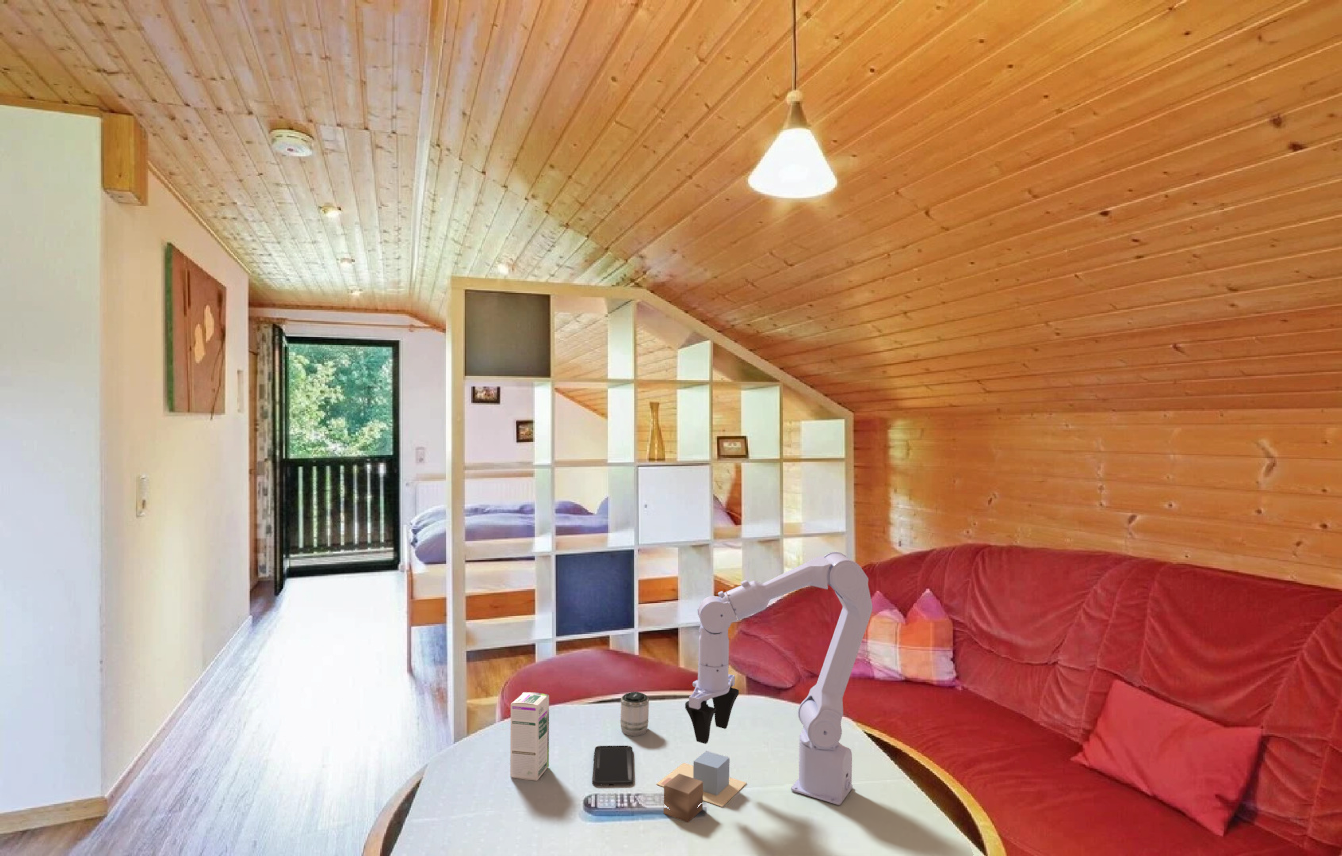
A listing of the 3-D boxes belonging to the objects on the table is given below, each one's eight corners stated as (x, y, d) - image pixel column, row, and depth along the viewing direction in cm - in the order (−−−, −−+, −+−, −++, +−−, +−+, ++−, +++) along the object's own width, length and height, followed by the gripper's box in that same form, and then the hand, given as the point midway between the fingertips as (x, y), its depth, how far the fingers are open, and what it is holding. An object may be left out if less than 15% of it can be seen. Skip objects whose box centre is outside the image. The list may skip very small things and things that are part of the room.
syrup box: (537, 781, 130) (539, 704, 130) (508, 777, 131) (510, 701, 131) (549, 767, 136) (550, 693, 136) (521, 763, 137) (522, 690, 137)
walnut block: (702, 809, 122) (703, 781, 122) (688, 822, 117) (688, 793, 117) (678, 801, 124) (679, 773, 124) (663, 813, 120) (664, 785, 120)
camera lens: (616, 734, 151) (616, 698, 151) (626, 722, 157) (626, 688, 157) (642, 738, 149) (643, 702, 149) (652, 726, 155) (652, 691, 155)
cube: (729, 784, 130) (729, 757, 130) (716, 795, 126) (717, 768, 126) (705, 776, 133) (706, 750, 133) (693, 787, 128) (693, 761, 129)
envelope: (746, 783, 131) (746, 782, 131) (722, 807, 122) (722, 806, 122) (683, 763, 138) (683, 762, 138) (656, 784, 130) (656, 783, 130)
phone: (632, 745, 144) (633, 781, 129) (632, 750, 144) (633, 787, 129) (594, 745, 144) (591, 782, 129) (594, 751, 144) (591, 788, 129)
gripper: (713, 648, 138) (711, 716, 138) (675, 668, 125) (673, 743, 125) (744, 654, 134) (743, 724, 134) (709, 676, 122) (707, 753, 122)
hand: (712, 734), depth 129 cm, fingers open, 7 cm apart
